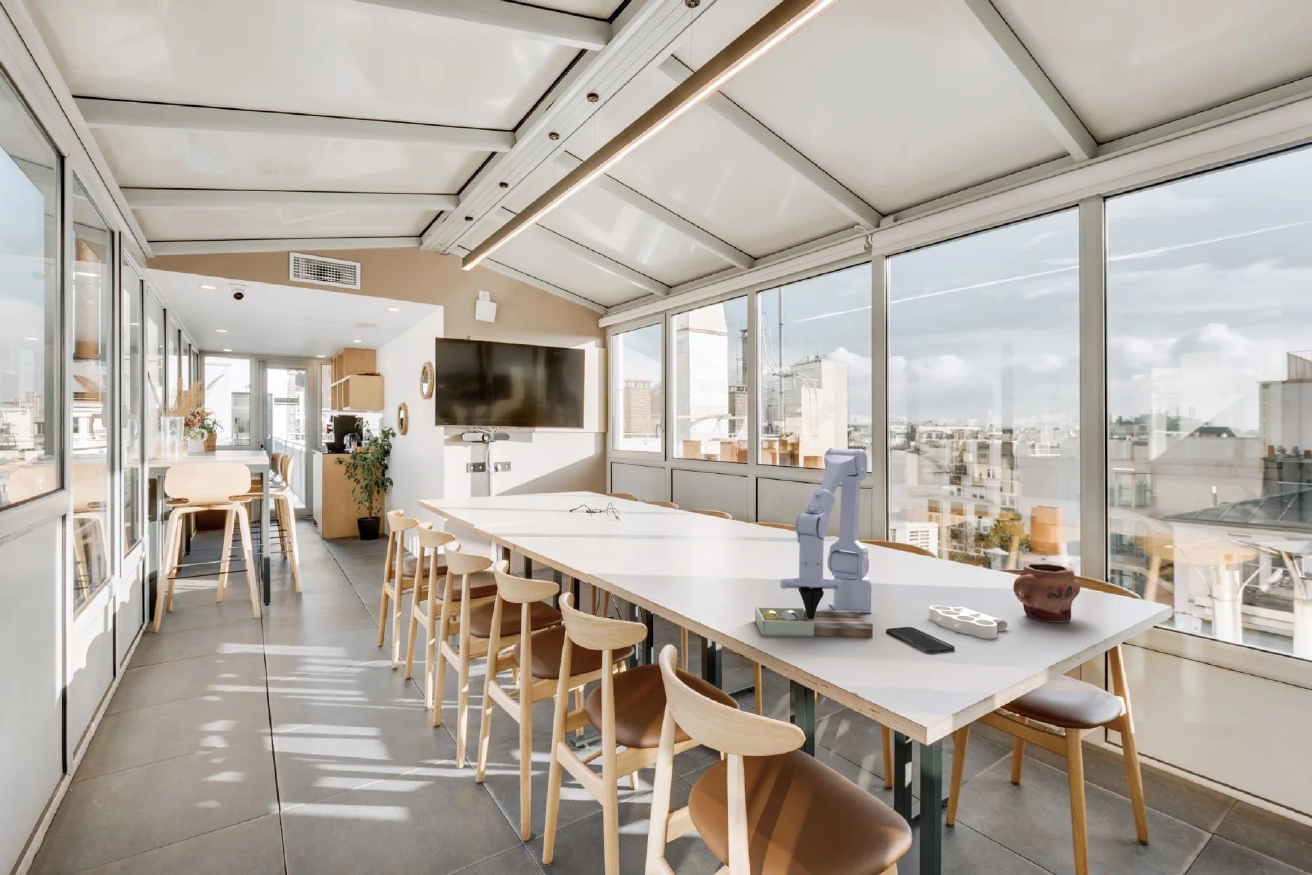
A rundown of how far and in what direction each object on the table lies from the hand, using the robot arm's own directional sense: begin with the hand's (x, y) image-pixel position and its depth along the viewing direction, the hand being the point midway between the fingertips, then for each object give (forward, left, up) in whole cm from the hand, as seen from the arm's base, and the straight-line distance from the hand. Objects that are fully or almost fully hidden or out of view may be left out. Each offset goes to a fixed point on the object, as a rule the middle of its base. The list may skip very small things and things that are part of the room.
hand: (810, 618), depth 147 cm
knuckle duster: (-40, -5, -3) cm, 41 cm away
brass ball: (+10, 0, 0) cm, 10 cm away
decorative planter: (-64, -12, -3) cm, 65 cm away
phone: (-24, +7, -3) cm, 25 cm away
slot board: (-6, 0, -3) cm, 7 cm away
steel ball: (+5, 0, 0) cm, 5 cm away
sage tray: (+6, 0, -3) cm, 7 cm away
